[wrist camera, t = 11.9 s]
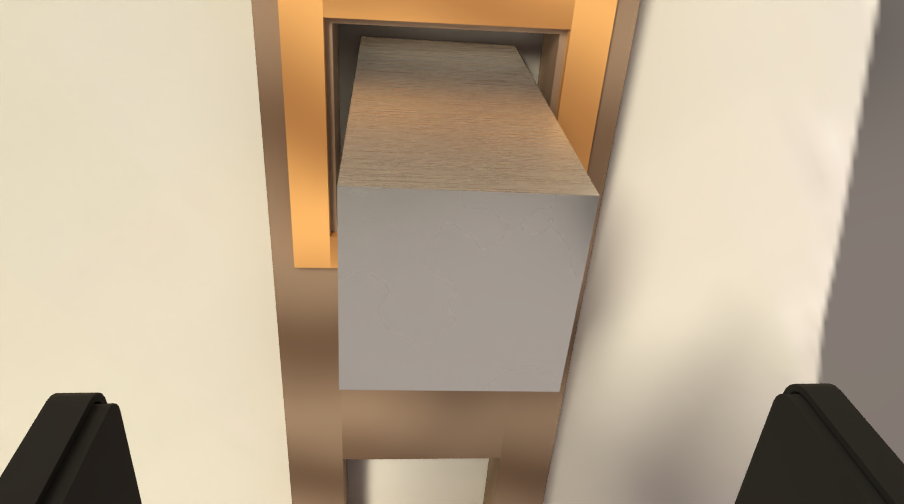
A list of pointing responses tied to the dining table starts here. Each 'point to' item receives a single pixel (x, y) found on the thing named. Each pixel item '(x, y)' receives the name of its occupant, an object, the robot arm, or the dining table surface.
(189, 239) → the dining table surface
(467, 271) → the square peg
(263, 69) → the board
